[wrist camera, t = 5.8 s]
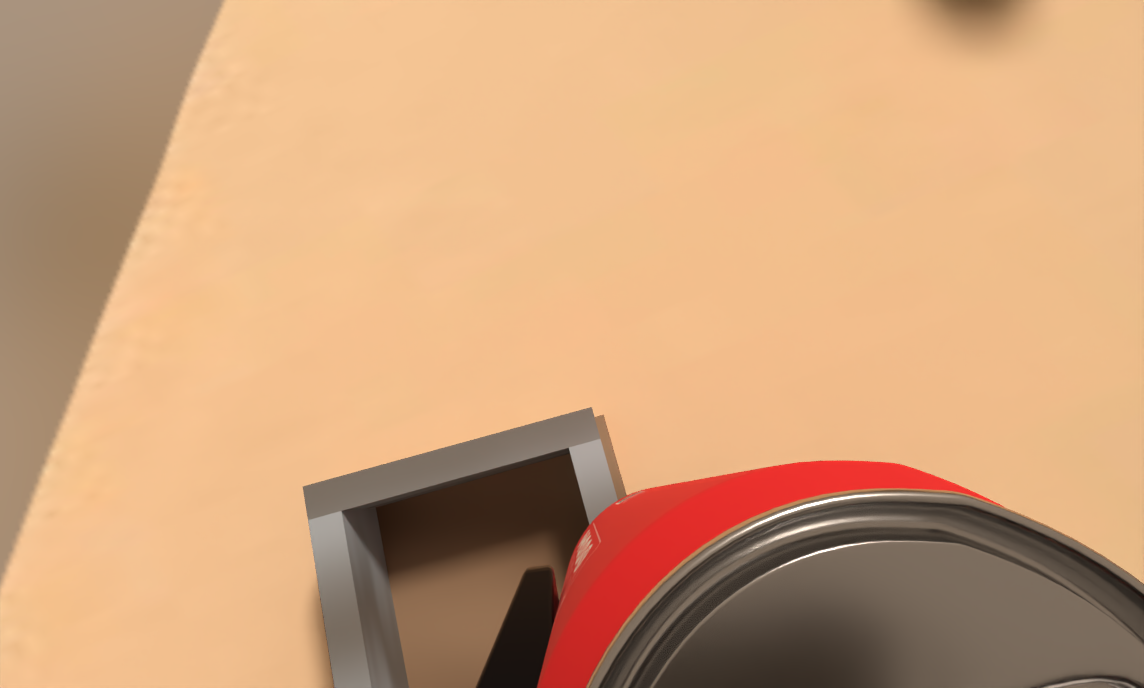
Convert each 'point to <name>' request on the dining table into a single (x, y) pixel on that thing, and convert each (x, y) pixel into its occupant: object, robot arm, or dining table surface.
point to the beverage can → (838, 589)
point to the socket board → (450, 546)
